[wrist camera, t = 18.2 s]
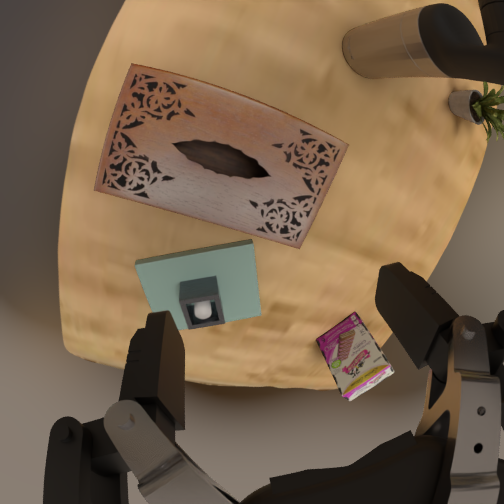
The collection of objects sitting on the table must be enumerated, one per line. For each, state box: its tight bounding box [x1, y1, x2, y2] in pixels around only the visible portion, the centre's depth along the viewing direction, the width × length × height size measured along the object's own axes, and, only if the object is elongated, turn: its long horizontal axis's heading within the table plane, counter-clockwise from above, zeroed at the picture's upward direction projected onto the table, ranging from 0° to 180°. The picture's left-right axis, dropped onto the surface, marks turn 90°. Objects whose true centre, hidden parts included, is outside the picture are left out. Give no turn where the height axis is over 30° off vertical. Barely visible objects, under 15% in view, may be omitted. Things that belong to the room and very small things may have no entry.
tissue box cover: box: [94, 63, 349, 249], centre depth 32 cm, size 26×14×10 cm, turn 68°
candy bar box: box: [316, 312, 394, 401], centre depth 52 cm, size 11×5×16 cm, turn 128°
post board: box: [135, 239, 261, 330], centre depth 44 cm, size 19×15×6 cm
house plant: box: [449, 82, 504, 144], centre depth 30 cm, size 14×14×16 cm
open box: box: [179, 276, 225, 329], centre depth 43 cm, size 6×6×5 cm
